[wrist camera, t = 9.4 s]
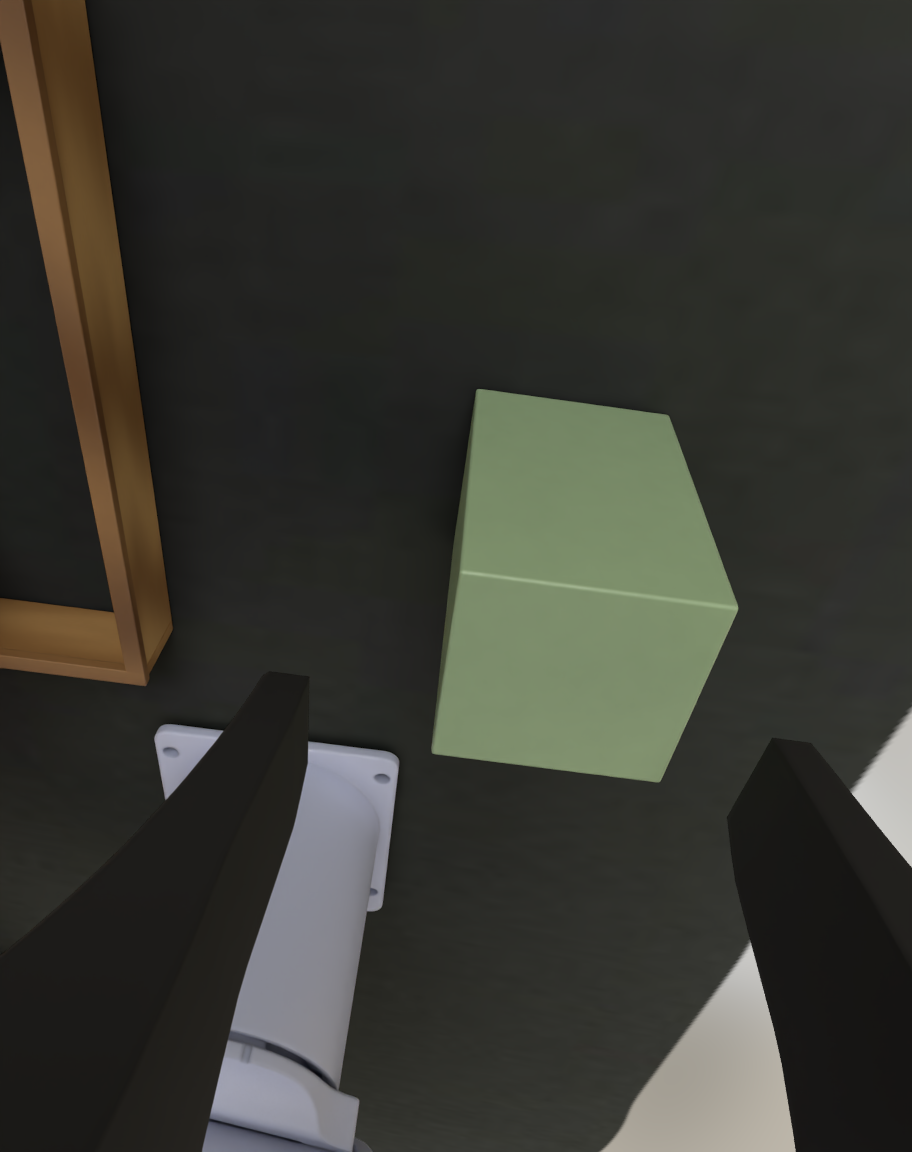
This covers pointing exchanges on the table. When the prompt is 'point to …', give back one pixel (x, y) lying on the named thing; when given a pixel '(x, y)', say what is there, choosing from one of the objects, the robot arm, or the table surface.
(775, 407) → the table surface
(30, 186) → the wooden frame
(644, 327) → the table surface
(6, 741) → the table surface
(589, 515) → the block
